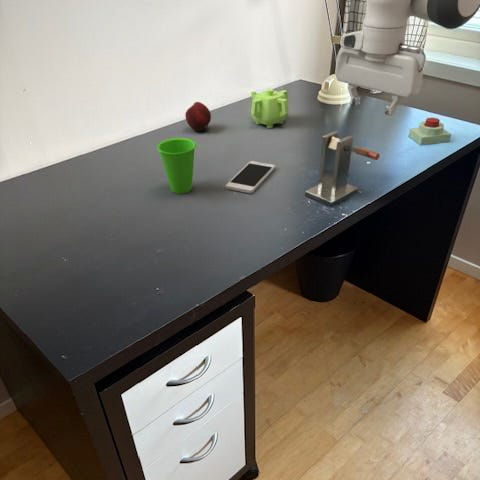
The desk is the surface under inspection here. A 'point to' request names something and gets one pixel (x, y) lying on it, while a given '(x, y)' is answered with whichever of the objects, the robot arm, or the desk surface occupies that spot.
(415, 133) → the control block
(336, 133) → the bracket
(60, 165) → the desk surface
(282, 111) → the green pot with handles
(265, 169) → the smartphone
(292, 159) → the desk surface
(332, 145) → the lever
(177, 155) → the cup
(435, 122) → the button
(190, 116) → the apple
